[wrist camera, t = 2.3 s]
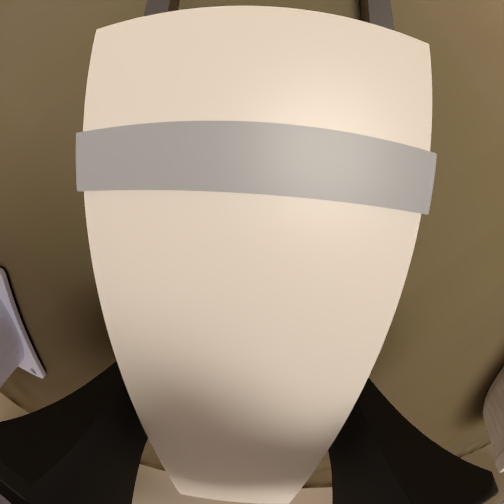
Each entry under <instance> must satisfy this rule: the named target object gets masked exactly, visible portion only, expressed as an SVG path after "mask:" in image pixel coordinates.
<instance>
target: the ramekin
mask: <svg viewBox="0 0 504 504" xmlns="http://www.w3.org/2000/svg"><path fill="white" fill-rule="evenodd" d="M483 418H484V422H485V426H486V429H487V432H488V435H489V438H490V441H491V444H492V447H493V450H494V453H495V456H496V460H495V465H496V467H497V470H498V471H499V472H503V471H504V366H503V368H502V369H501V371H500V372H499V374H498V375H497V377H496V378H495V380H494V381H493V383H492V385H491V387H490V388H489V390H488V393H487V395H486V397H485V401H484V408H483Z"/></svg>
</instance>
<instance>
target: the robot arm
mask: <svg viewBox="0 0 504 504" xmlns="http://www.w3.org/2000/svg"><path fill="white" fill-rule="evenodd" d="M17 367H20V368H22V369H24V370H26V371H28V372H30V373H31V374H33V375H35V376H37V377H39V378H42V379H43V378H44V377H45V376H46V373H45V371H44V369H43V367H42V365H41V363H40V361H39V359H38V357H37V355H36V353H35V351H34V349H33V346H32V344H31V342H30V340H29V337H28V335H27V333H26V330H25V328H24V326H23V323H22V320H21V318H20V315H19V313H18V310H17V307H16V304H15V301H14V298H13V295H12V292H11V289H10V286H9V282H8V279H7V276H6V273H5V271H4V270H3V269H2V268H0V388H1V386H2V385H3V384H4V382H5V381H6V380H7V379H8V378H9V376H10V375H11V374H12V373H13V371H14V370H15V369H16V368H17ZM147 439H148V437H147V434H146V432H145V430H144V428H143V426H142V424H141V422H140V419H139V417H138V415H137V413H136V410H135V408H134V406H133V403H132V401H131V398H130V396H129V393H128V391H127V388H126V386H125V383H124V380H123V378H122V375H121V372H120V369H119V366H118V363H117V361H116V362H115V363H113V364H112V365H111V366H110V367H108V368H107V369H106V370H105V371H103V372H102V373H101V374H99V375H98V376H97V377H95V378H94V379H93V380H91V381H90V382H88V383H87V384H86V385H84V386H83V387H81V388H80V389H78V390H76V391H75V392H73V393H72V394H70V395H68V396H66V397H65V398H63V399H61V400H59V401H57V402H55V403H53V404H51V405H49V406H46V407H44V408H42V409H40V410H38V411H35V412H33V413H30V414H27V415H24V416H21V417H18V418H15V419H11V420H7V421H2V422H0V504H132V498H133V492H134V486H135V481H136V476H137V472H138V468H139V464H140V459H141V456H142V452H143V449H144V446H145V444H146V441H147ZM328 451H329V456H330V462H331V470H332V489H333V504H483V503H484V502H486V501H487V500H489V499H490V498H492V497H493V496H495V495H496V494H497V493H498V488H497V485H496V482H495V479H494V477H493V474H492V472H490V471H488V470H485V469H483V468H480V467H478V466H475V465H473V464H471V463H468V462H466V461H464V460H462V459H461V458H459V457H457V456H455V455H453V454H452V453H450V452H448V451H447V450H445V449H443V448H442V447H440V446H439V445H438V444H436V443H435V442H433V441H432V440H430V439H429V438H428V437H426V436H425V435H424V434H423V433H421V432H420V431H419V430H418V429H417V428H416V427H414V426H413V425H412V424H411V423H410V422H409V421H408V420H406V419H405V418H404V417H403V416H402V415H401V414H400V413H399V412H398V411H397V410H396V409H395V408H394V406H393V405H392V404H391V403H390V402H389V401H388V400H387V399H386V398H385V397H384V395H383V394H382V393H381V392H380V391H379V390H378V389H377V387H376V386H375V385H374V384H373V383H372V381H371V380H370V379H369V378H368V379H367V381H366V383H365V385H364V387H363V389H362V391H361V393H360V395H359V397H358V399H357V401H356V403H355V405H354V407H353V409H352V411H351V412H350V414H349V416H348V418H347V420H346V421H345V423H344V425H343V427H342V428H341V430H340V432H339V433H338V435H337V437H336V438H335V440H334V442H333V443H332V445H331V446H330V448H329V449H328ZM499 504H504V501H502V502H501V503H499Z"/></svg>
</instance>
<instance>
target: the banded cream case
mask: <svg viewBox="0 0 504 504" xmlns="http://www.w3.org/2000/svg"><path fill="white" fill-rule="evenodd" d="M431 128H432V76H431V60H430V49H429V44H427V43H425V42H423V41H420V40H418V39H415V38H413V37H410V36H408V35H405V34H402V33H399V32H397V31H394V30H391V29H388V28H385V27H381V26H378V25H375V24H371V23H368V22H364V21H360V20H356V19H352V18H348V17H343V16H338V15H333V14H328V13H323V12H316V11H310V10H302V9H294V8H283V7H269V6H218V7H204V8H193V9H185V10H177V11H171V12H164V13H159V14H154V15H149V16H144V17H139V18H135V19H131V20H127V21H123V22H120V23H116V24H113V25H109V26H106V27H103V28H100V29H97V30H96V34H95V39H94V43H93V48H92V54H91V59H90V66H89V72H88V79H87V88H86V97H85V108H84V124H83V132H79V133H76V181H77V191H84V200H85V212H86V222H87V231H88V239H89V246H90V253H91V259H92V265H93V270H94V276H95V281H96V286H97V290H98V295H99V299H100V304H101V308H102V312H103V316H104V320H105V324H106V327H107V331H108V334H109V338H110V341H111V345H112V348H113V351H114V354H115V357H116V360H117V363H118V366H119V369H120V372H121V375H122V378H123V380H124V383H125V386H126V388H127V391H128V393H129V396H130V398H131V401H132V403H133V406H134V408H135V410H136V413H137V415H138V417H139V419H140V422H141V424H142V426H143V428H144V430H145V432H146V434H147V437H148V439H149V441H150V443H151V445H152V447H153V448H154V450H155V452H156V454H157V456H158V458H159V460H160V462H161V463H162V465H163V467H164V469H165V470H166V472H167V474H168V475H169V477H170V479H171V481H172V482H173V484H174V486H175V487H176V489H177V490H178V492H179V493H180V494H184V495H189V496H195V497H200V498H207V499H214V500H222V501H231V502H244V503H265V504H286V503H290V502H291V501H292V499H293V498H294V497H295V496H296V494H297V493H298V492H299V490H300V489H301V488H302V487H303V485H304V484H305V483H306V481H307V480H308V479H309V477H310V476H311V474H312V473H313V472H314V470H315V469H316V467H317V466H318V464H319V463H320V462H321V460H322V459H323V457H324V456H325V454H326V453H327V451H328V449H329V448H330V446H331V445H332V443H333V442H334V440H335V438H336V437H337V435H338V433H339V432H340V430H341V428H342V427H343V425H344V423H345V421H346V420H347V418H348V416H349V414H350V412H351V411H352V409H353V407H354V405H355V403H356V401H357V399H358V397H359V395H360V393H361V391H362V389H363V387H364V385H365V383H366V381H367V379H368V377H369V375H370V373H371V370H372V368H373V366H374V364H375V362H376V359H377V357H378V355H379V352H380V350H381V347H382V345H383V343H384V340H385V338H386V335H387V332H388V330H389V327H390V324H391V322H392V319H393V316H394V313H395V311H396V308H397V305H398V302H399V299H400V296H401V292H402V289H403V286H404V283H405V279H406V276H407V272H408V269H409V265H410V261H411V258H412V254H413V250H414V246H415V241H416V237H417V232H418V228H419V223H420V218H421V214H427V215H428V213H429V208H430V202H431V196H432V190H433V183H434V175H435V167H436V157H437V154H436V153H433V152H430V144H431Z"/></svg>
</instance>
